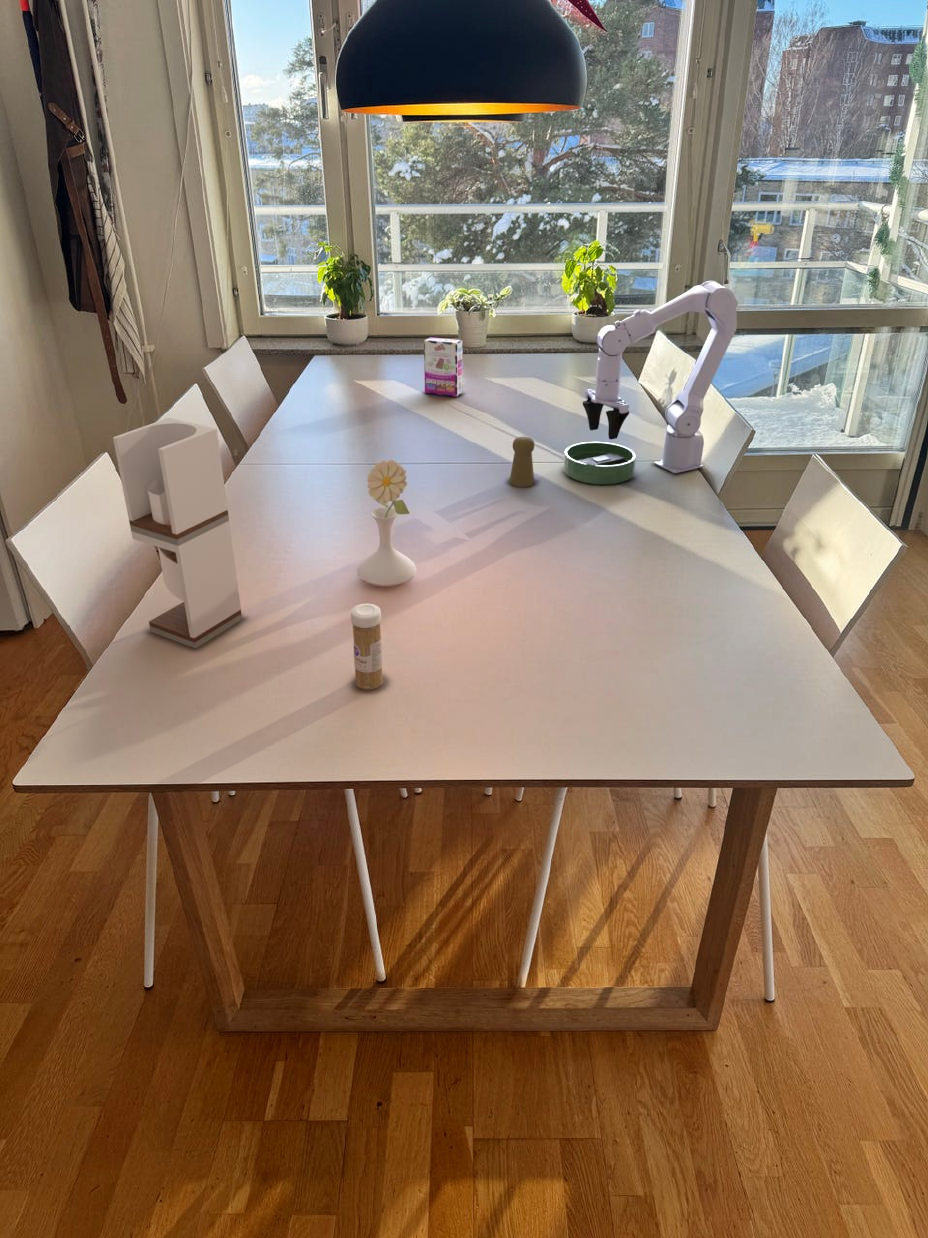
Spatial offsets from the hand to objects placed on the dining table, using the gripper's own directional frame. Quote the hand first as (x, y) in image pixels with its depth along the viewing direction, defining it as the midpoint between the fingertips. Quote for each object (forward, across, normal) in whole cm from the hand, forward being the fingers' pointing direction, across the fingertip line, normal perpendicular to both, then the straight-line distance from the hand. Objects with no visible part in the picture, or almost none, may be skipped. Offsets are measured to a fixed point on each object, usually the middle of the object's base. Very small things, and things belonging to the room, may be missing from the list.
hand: (603, 433), depth 221 cm
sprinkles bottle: (+9, +57, -91) cm, 108 cm away
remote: (+8, +2, -2) cm, 9 cm away
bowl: (+9, +2, -2) cm, 10 cm away
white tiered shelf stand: (+9, +26, -110) cm, 113 cm away
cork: (+9, -2, -22) cm, 24 cm away
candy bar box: (+9, -76, -3) cm, 76 cm away
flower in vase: (+9, +28, -72) cm, 78 cm away
